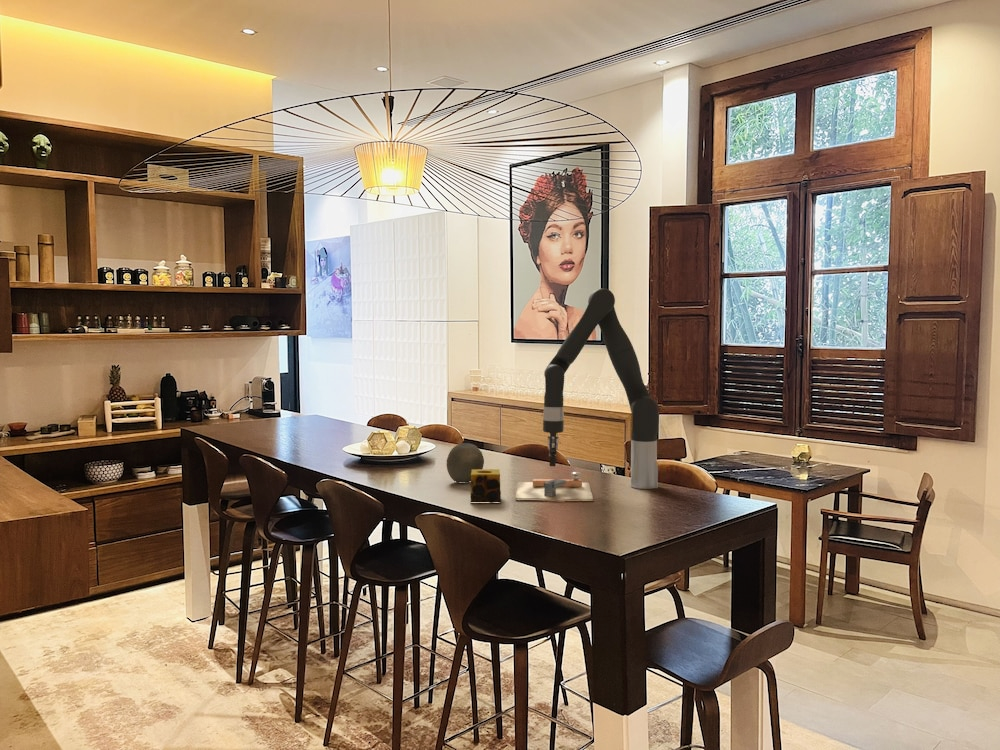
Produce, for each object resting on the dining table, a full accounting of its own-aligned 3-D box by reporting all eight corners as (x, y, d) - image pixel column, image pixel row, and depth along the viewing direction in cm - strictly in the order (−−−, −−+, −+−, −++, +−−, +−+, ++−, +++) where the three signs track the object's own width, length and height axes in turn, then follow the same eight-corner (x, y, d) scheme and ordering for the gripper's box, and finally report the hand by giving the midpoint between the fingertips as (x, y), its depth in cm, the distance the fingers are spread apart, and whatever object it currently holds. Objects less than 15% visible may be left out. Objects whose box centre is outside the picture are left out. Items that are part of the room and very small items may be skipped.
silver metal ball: (580, 479, 277) (580, 471, 277) (580, 480, 273) (580, 473, 273) (570, 479, 277) (570, 471, 277) (571, 480, 274) (571, 473, 273)
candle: (500, 504, 252) (500, 474, 252) (470, 504, 252) (470, 474, 252) (500, 497, 262) (500, 468, 262) (471, 497, 262) (471, 469, 262)
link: (581, 484, 277) (581, 479, 277) (582, 486, 273) (582, 481, 273) (532, 484, 278) (532, 478, 278) (532, 486, 274) (532, 481, 274)
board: (588, 485, 283) (588, 482, 283) (593, 501, 255) (593, 498, 255) (518, 484, 285) (518, 482, 285) (515, 500, 257) (515, 498, 257)
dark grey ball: (444, 486, 281) (444, 446, 280) (448, 479, 295) (448, 441, 294) (483, 487, 280) (483, 446, 280) (485, 479, 295) (484, 441, 294)
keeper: (555, 491, 267) (555, 478, 267) (565, 492, 265) (565, 480, 264) (543, 496, 260) (543, 482, 260) (553, 497, 258) (553, 484, 257)
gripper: (564, 421, 273) (563, 469, 274) (563, 417, 286) (562, 463, 287) (543, 420, 273) (542, 468, 274) (543, 416, 286) (542, 462, 287)
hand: (552, 465), depth 280 cm, fingers closed
